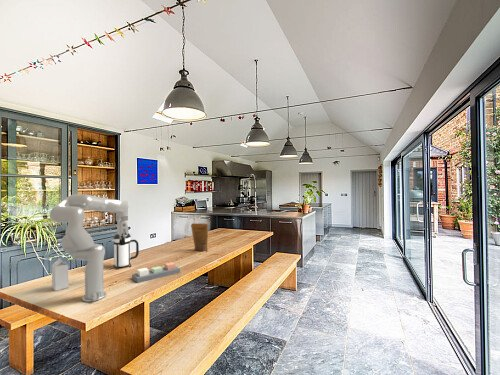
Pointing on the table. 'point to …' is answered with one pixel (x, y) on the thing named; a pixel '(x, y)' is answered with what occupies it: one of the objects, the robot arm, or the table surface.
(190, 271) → the table surface
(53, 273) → the milk carton
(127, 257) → the coffee press
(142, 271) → the cream key
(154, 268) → the sage key
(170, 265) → the terracotta key
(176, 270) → the key console
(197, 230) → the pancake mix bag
